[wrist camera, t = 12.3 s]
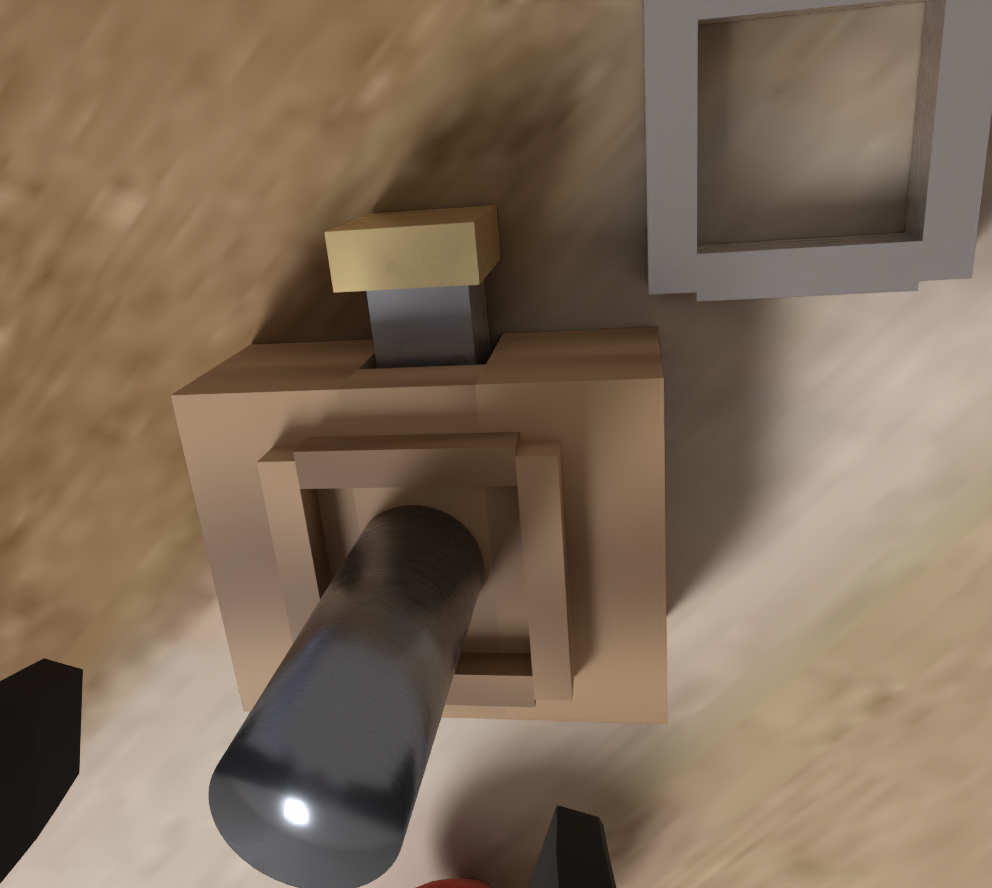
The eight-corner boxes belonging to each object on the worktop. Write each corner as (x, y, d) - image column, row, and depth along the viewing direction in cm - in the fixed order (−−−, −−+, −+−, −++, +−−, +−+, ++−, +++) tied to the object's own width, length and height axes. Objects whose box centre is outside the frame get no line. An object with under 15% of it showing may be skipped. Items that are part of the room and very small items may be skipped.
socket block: (250, 344, 21) (150, 408, 17) (657, 326, 20) (665, 391, 15) (302, 618, 24) (229, 733, 20) (661, 622, 22) (669, 749, 18)
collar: (642, -26, 17) (643, -34, 16) (987, -64, 16) (1014, -76, 15) (647, 292, 19) (648, 303, 18) (949, 277, 18) (970, 288, 17)
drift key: (367, 213, 19) (324, 231, 17) (496, 204, 19) (474, 222, 16) (414, 565, 23) (384, 629, 20) (524, 565, 22) (509, 630, 20)
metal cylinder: (371, 488, 18) (223, 707, 11) (499, 529, 18) (425, 775, 11) (344, 596, 19) (195, 853, 12) (465, 635, 19) (378, 915, 12)
